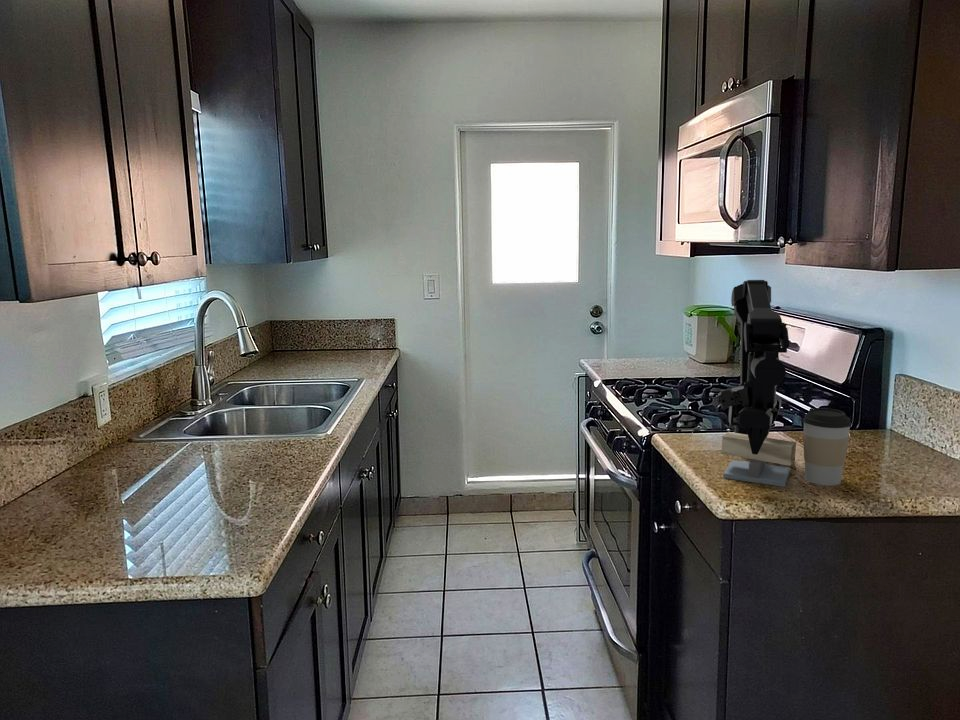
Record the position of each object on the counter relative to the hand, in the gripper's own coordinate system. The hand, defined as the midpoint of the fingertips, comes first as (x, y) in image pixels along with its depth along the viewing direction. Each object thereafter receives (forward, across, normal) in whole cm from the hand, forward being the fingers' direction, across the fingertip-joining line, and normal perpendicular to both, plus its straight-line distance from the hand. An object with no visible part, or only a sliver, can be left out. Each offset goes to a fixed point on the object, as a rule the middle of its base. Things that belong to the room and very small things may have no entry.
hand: (758, 448), depth 145 cm
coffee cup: (+6, -3, +12) cm, 14 cm away
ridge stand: (+6, 0, 0) cm, 6 cm away
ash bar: (+2, 0, 0) cm, 2 cm away
